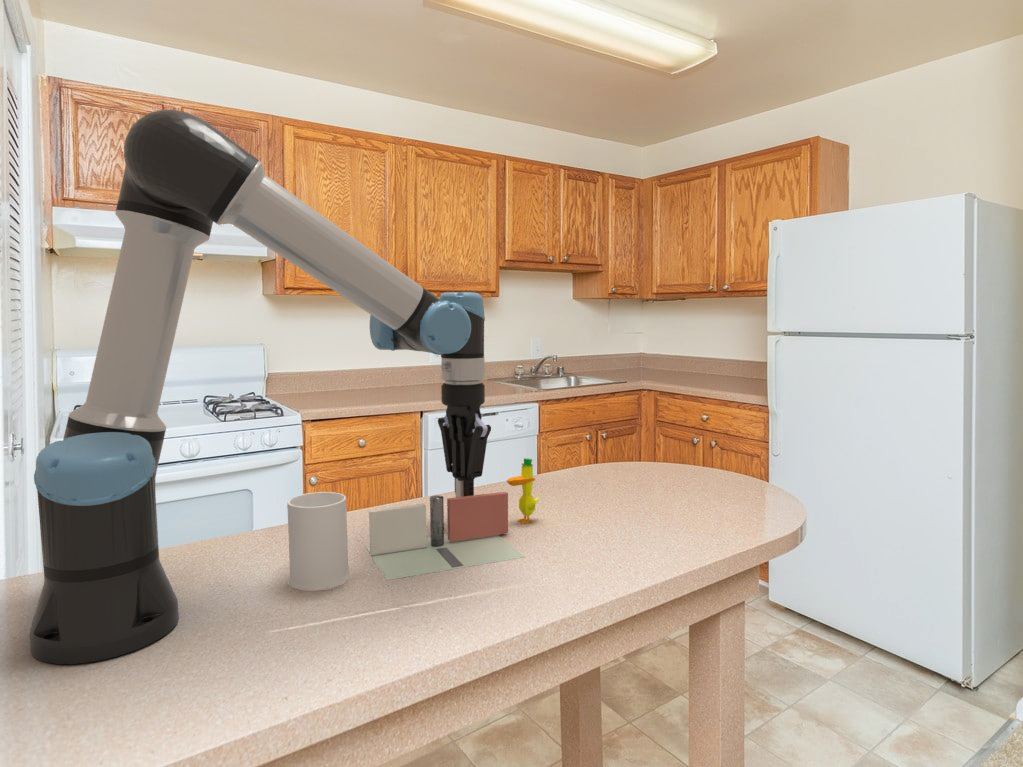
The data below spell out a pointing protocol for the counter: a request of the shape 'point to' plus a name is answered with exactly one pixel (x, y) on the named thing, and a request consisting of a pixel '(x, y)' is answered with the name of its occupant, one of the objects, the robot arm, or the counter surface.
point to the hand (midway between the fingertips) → (464, 513)
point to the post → (437, 521)
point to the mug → (318, 541)
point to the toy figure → (525, 490)
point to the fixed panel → (397, 529)
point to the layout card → (445, 556)
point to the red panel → (477, 516)
